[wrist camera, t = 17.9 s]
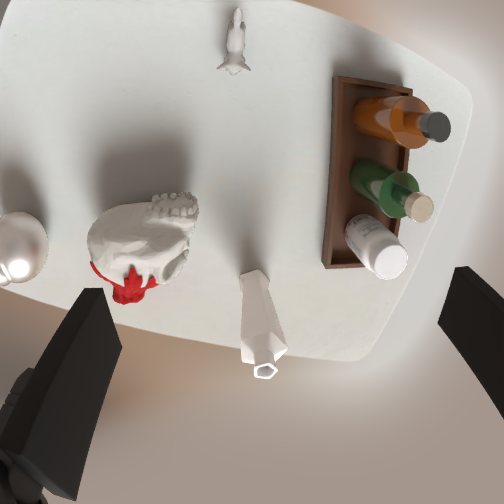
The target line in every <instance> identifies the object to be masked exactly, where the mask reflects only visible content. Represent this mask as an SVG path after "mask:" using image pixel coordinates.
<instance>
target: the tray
mask: <svg viewBox="0 0 504 504" xmlns="http://www.w3.org/2000/svg"><path fill="white" fill-rule="evenodd" d="M375 96H413V89H410V88H405V87H401V86H396V85H391V84H386V83H380V82H375V81H369V80H362V79H356V78H349V77H341V76H337V77H334V78H332V125H331V149H330V168H329V184H328V198H327V210H326V222H325V233H324V243H323V253H322V263H323V265H324V267H325V269H337V268H359V267H365V266H364V264H363V263H362V262H361V261H360V259H359V258H358V257H357V256H356V254H355V253H354V252H353V251H352V249H351V248H350V247H349V246H348V244H347V242H346V240H345V229H346V226H347V224H348V223H349V221H350V220H351V219H352V218H354V217H355V216H357V215H360V214H368V215H371V216H373V217H374V218H375V219H377V220H378V221H379V222H380V223H381V224H383V225H384V226H385V227H386V228H387V229H388V230H390V231H391V232H392V233H393V234H394V235H395V236H396V237H398V232H399V226H400V220H401V218H391V217H389V216H387V215H386V214H385V213H383V212H382V211H381V210H379V209H378V208H377V207H376V206H374V205H373V204H372V203H370V202H369V201H368V200H366V199H365V198H364V197H362V196H361V195H359V194H358V193H357V192H356V191H354V189H353V188H352V186H351V184H350V179H349V175H350V170H351V168H352V166H353V165H354V164H355V162H357V161H358V160H359V159H361V158H365V157H371V158H374V159H377V160H379V161H381V162H384V163H386V164H389V165H391V166H393V167H396V168H398V169H400V170H403V171H405V172H407V170H408V160H409V148H405V147H402V146H398V145H395V144H391V143H388V142H384V141H380V140H377V139H373V138H369V137H366V136H364V135H362V134H361V133H359V132H358V130H357V129H356V128H355V126H354V123H353V119H352V112H353V108H354V106H355V104H356V103H357V102H358V101H359V100H360V99H362V98H365V97H375Z"/></svg>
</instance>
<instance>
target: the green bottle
mask: <svg viewBox="0 0 504 504" xmlns="http://www.w3.org/2000/svg"><path fill="white" fill-rule="evenodd" d="M349 179H350V184H351V186H352V188H353V189H354V191H356V192H357V193H358V194H359V195H361V196H362V197H364V198H365V199H366V200H368V201H369V202H370V203H372V204H373V205H374V206H376V207H377V208H378V209H379V210H381V211H382V212H383V213H385V214H386V215H387V216H389V217H391V218H402V217H405V216H409V217H410V218H411V219H413V220H414V221H415V222H418V223H423V222H425V221H427V220H428V219H429V218H430V217H431V215H432V213H433V202H432V200H431V198H430V197H428V196H426V195H424V194H423V193H421V192H419V186H418V183H417V181H416V179H415V178H414V177H413V176H412V175H411V174H409V173H407V172H405V171H403V170H400V169H398V168H396V167H393V166H391V165H389V164H386V163H384V162H381V161H379V160H377V159H374V158H371V157H365V158H361V159H359V160H358V161H357V162H355V164H354V165H353V166H352V168H351V170H350V175H349Z"/></svg>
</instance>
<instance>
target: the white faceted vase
mask: <svg viewBox="0 0 504 504" xmlns="http://www.w3.org/2000/svg"><path fill="white" fill-rule="evenodd" d="M269 284H270V281H269V280H268V278H267V277H266V276H265V275H264V274H263V273H262V272H261V271H260V270H259V269H257V270H254V271H251V272H248V273H245V274H242V275H241V276H240V286H241V292H242V294H243V299H242V320H241V342H240V343H241V355H242V361H243V362H244V363H251V364H255V367H254V376H255V377H257V378H264V379H270V378H271V377H272V376H273V375H274V374H275V373H276V372H277V371H278V369H277V368H276V366H275V361H276V360H277V359H278V358H279V357H280V356H281V355H282V354H283V353H284V352H285V351H286V350H287V349H288V347H287V344H286V341H285V338H284V335H283V332H282V329H281V326H280V323H279V320H278V317H277V314H276V311H275V308H274V305H273V302H272V299H271V296H270V293H269V290H268V288H269Z"/></svg>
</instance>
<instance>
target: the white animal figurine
mask: <svg viewBox="0 0 504 504" xmlns="http://www.w3.org/2000/svg"><path fill="white" fill-rule="evenodd" d="M241 20H242V11H241V9H240V8H239V7H237V8H236V9H235V11H234V16H233V21H234V22H232V21H231V22H230V24H229V26H228V27H229V28H228V35H227V43H226V47H227V50H228V54H227V55H226V57H225V58H224V63H222V64H221V65H220V66H219V67H217V69H221V68H226V70H227V71H228V72H229V73H230V74H232V75H235V74H237V73H238V72H240V71H241V70H242V69H246V70H249V71H251V69H250V68H249V67H248V66H247V65H246V64H245V58H244V57H243V55H242V51H243V49H244V47H245V28H246V27H245V24H244V22H241Z"/></svg>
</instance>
